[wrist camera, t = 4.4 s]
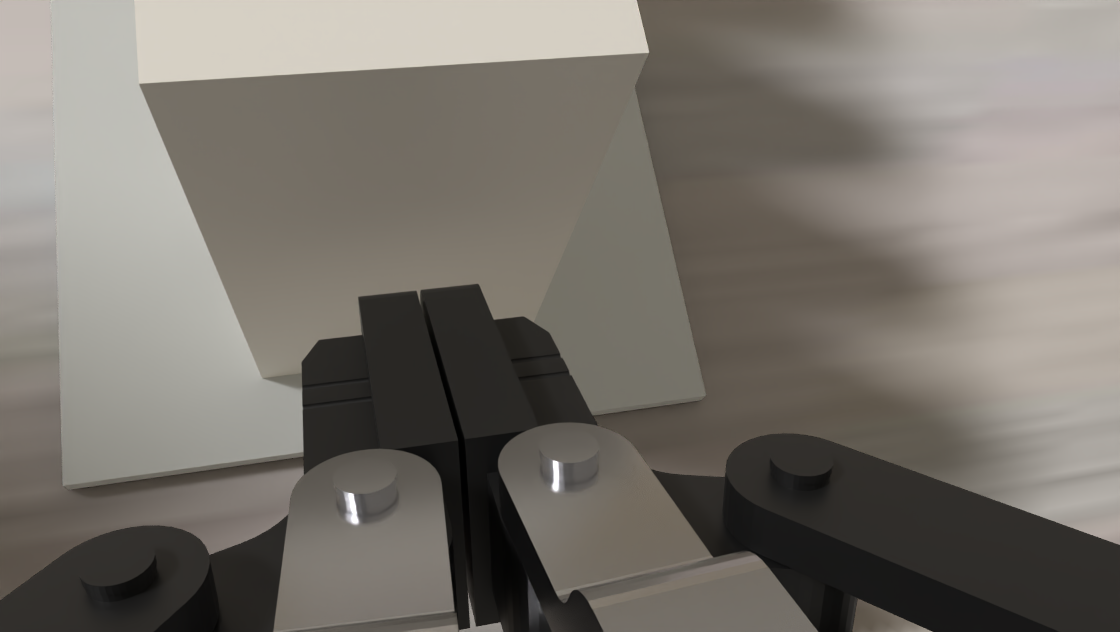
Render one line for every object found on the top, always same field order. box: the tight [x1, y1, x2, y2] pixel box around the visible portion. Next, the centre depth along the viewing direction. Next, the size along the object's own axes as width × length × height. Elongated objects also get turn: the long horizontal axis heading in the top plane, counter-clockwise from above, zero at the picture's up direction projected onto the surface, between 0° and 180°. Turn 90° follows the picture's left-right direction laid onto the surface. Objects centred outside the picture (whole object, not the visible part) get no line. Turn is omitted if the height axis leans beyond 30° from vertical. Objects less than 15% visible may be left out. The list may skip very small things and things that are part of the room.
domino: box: [134, 0, 649, 378], centre depth 15 cm, size 5×2×10 cm, turn 101°
